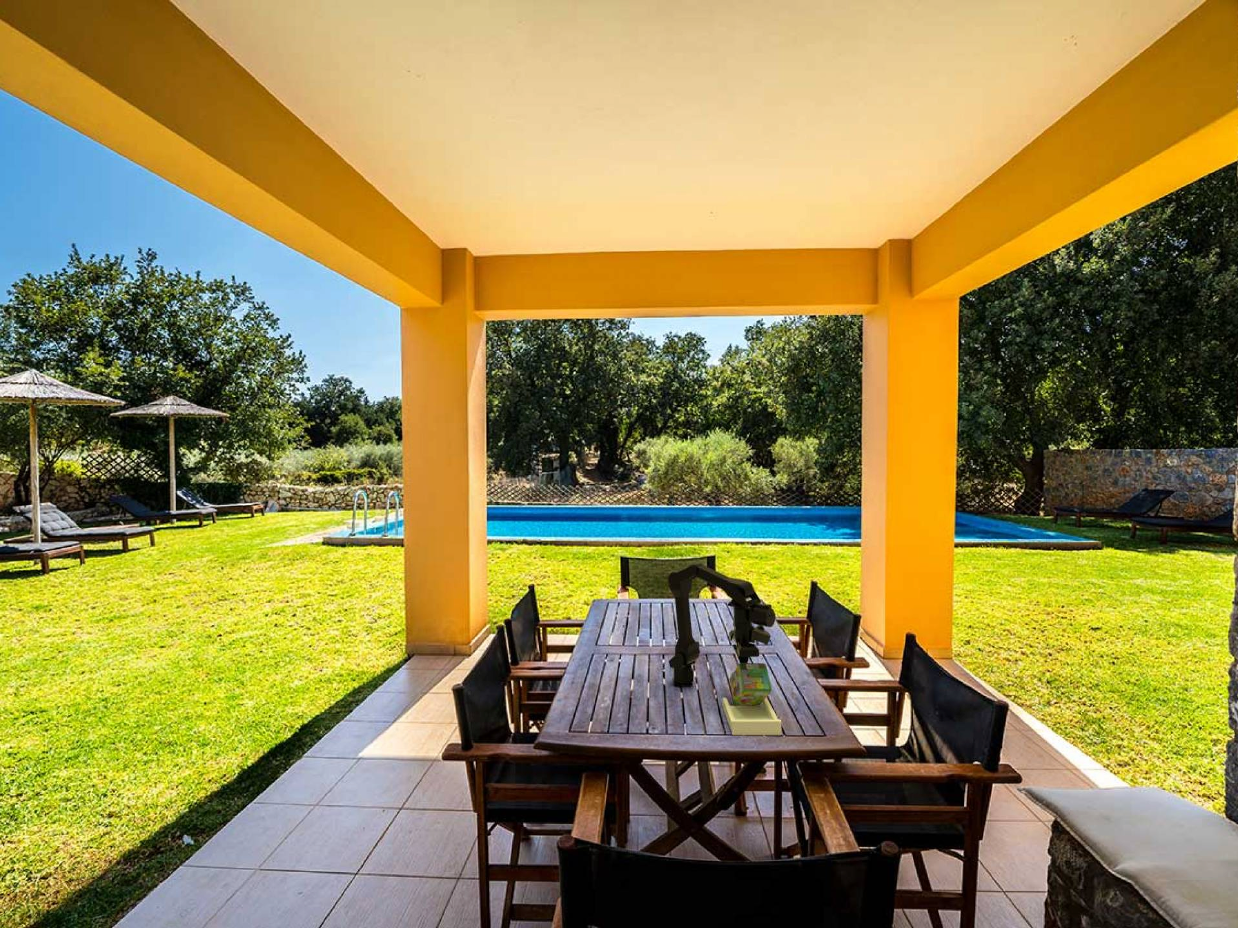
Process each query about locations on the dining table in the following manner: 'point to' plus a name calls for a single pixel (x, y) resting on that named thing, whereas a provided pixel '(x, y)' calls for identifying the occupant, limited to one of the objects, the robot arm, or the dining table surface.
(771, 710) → the pale yellow tray
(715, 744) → the dining table surface
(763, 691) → the chalk box
